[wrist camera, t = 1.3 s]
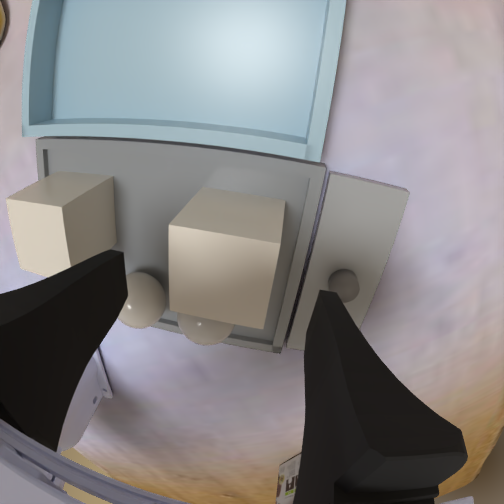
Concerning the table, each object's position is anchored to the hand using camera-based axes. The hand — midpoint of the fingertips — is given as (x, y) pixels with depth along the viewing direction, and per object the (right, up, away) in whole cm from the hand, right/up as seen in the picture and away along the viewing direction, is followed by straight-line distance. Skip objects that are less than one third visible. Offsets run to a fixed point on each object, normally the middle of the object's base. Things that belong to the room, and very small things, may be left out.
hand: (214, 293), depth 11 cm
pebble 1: (-5, 0, +7) cm, 9 cm away
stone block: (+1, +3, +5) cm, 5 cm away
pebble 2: (-1, -1, +7) cm, 7 cm away
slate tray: (-2, +2, +6) cm, 7 cm away
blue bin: (-3, +11, +1) cm, 12 cm away
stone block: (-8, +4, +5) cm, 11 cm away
